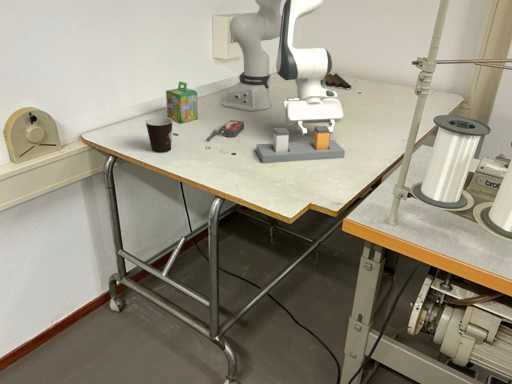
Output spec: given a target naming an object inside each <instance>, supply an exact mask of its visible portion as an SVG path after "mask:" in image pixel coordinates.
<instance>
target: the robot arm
mask: <svg viewBox="0 0 512 384" xmlns="http://www.w3.org/2000/svg"><path fill="white" fill-rule="evenodd" d="M254 1H255V2H256V4H257V5H258V7H259V8H258V10H257V12H246V13H245V12H244V13H242V14H237V15H234V16H233V17H232V19H231V20H230V22H229V33H230V35H231V37H232V39H233V40H234V41H236V42H237V44H238V45H239V47H240V49H241V52H242V57H243V72H241V74H240V75H238V80H239V81H238V82H237V83H235V84H234V85H233V86H232V87H230V88H229V90H227V94H226V98H224V99H223V100H222V102H221V106H222V107H227V108H230V109H231V108H232V109H235V110H242V111H246V112H252V111H253V112H254V111H259V110H260V111H263V110H267V109H269V108H271V107H272V104H271V99H270V85H271V84H270V83H271V78H270V77H271V76H270V55H269V54H268V52H266V51H265V50H263V49H262V46H261V45H262V44H261V42H262V41H269V40H270V41H271V40H274V39H277V38H279V43H278V50H277V57H276V62H275V63H276V64H275V69H276V73H277V74H278V75H279V77H280V78H282V79H283V80H285V81H291V80H295V81H294V82H295V84H296V86H297V90H296V93H297V97H292V98H291V97H288V98H286V99H284V100H283V101H282V102H283V103H282V105H283V108H284V110H285V111H284V113H285V117H284V119H285V122H286V123H287V124H288V125H296V127H297V129H298V130H299V131H300V133H301V136H307V135H308V131H307V128H304V126H303V125H305V124H307V125H309V124H328V125H329V127H328V128H329V130H330V135H333V134H334V128H333V127H334V126H335V124H336V123H340V122H341V121H342V120H343V118H344V110H343V107H342V104H341V101H340V100H339V99H337V98H338V93H337V92H336V91H333V90H330V89H327V88H325V89H324V88H322V86H321V83H320V82H321V80H323V79H324V78H325V77H326V76H327V75H328V74H330V73H331V71H332V68H333V62H332V61H333V59H332V55H331V54H330V52H329V51H328V49H327V48H324V47H310V48H308V47H307V48H295V47H294V46H293V41H294V29H295V23H296V21H297V20H299V19H301V18H303V17H305V16H308V15H310V14H312V13H314V12H316V10H318V9H319V8H320V7H321V6H322V4H324V2H325V0H285V1H284V4H283V8H282V11H281V5H282V1H283V0H254ZM281 12H282V13H281Z"/></svg>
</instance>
